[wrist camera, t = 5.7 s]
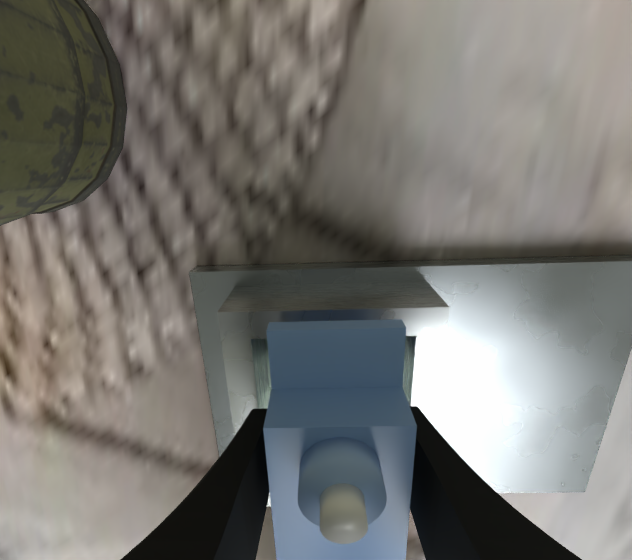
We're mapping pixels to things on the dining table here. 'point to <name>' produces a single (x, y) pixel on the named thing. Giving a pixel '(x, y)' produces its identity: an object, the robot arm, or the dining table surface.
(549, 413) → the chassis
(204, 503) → the robot arm
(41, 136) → the thermos
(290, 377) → the servo
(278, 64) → the dining table surface
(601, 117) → the dining table surface
